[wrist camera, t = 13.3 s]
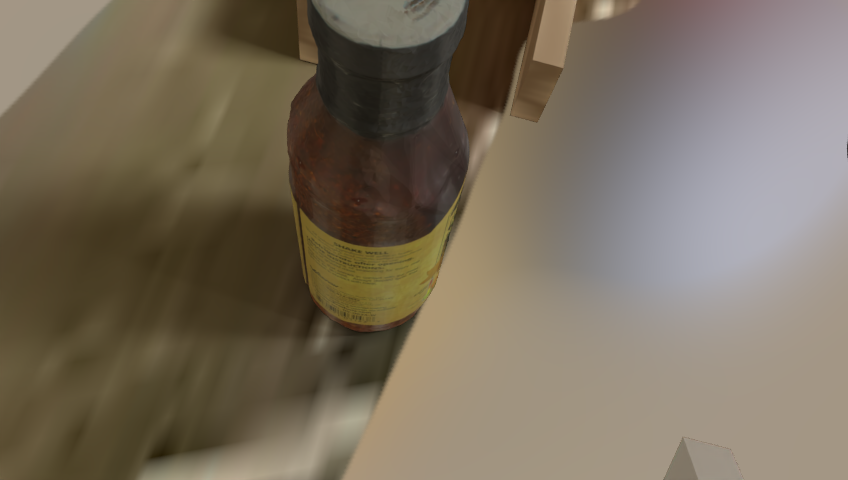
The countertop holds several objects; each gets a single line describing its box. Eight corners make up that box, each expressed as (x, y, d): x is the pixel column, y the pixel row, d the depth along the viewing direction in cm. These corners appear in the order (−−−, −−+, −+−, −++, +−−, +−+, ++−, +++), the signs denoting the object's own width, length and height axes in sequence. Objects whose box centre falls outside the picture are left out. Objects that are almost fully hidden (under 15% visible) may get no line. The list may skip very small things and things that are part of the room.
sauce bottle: (455, 305, 37) (577, 61, 19) (333, 359, 35) (335, 148, 17) (397, 190, 39) (455, -134, 21) (279, 236, 37) (228, -72, 19)
